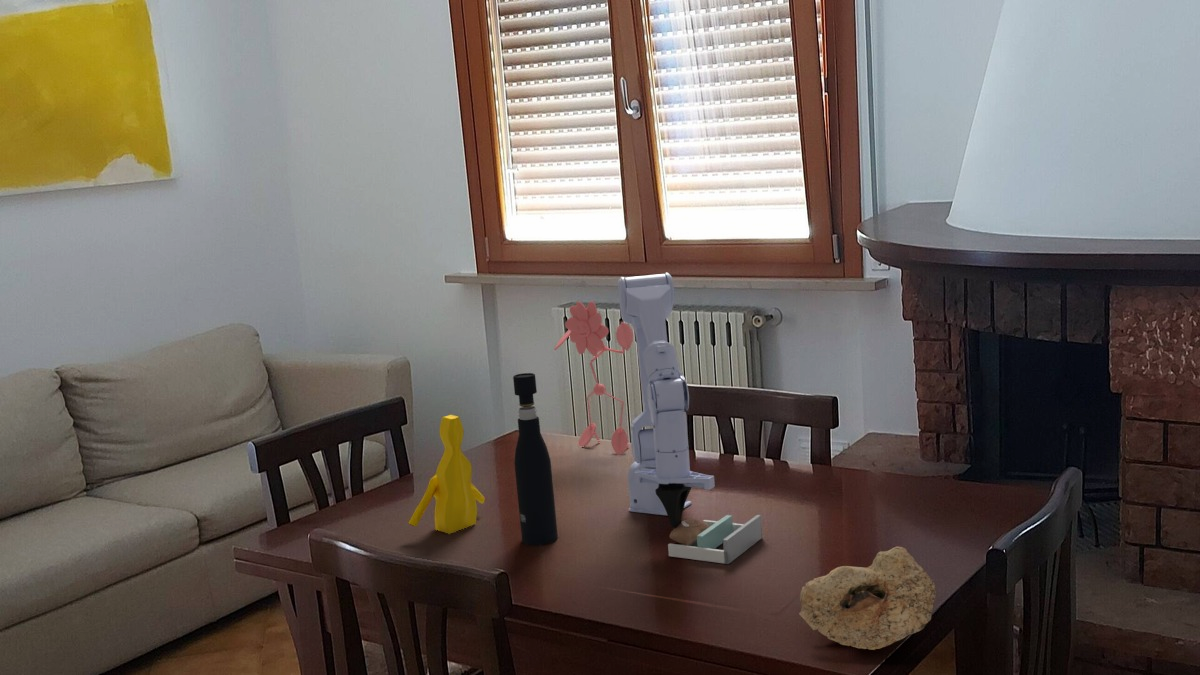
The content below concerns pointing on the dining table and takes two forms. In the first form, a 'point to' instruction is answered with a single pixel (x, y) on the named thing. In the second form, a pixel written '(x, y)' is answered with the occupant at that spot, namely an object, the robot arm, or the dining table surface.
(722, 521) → the panel
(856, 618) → the tan rock
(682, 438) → the robot arm
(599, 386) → the figurine
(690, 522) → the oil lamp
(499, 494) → the dining table surface
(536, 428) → the black water bottle
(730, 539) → the pusher lane
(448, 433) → the figure statuette
